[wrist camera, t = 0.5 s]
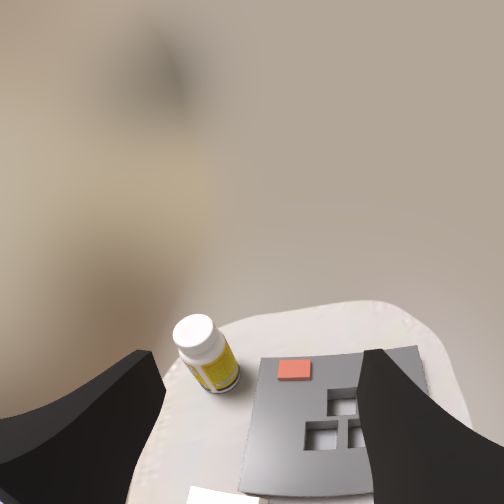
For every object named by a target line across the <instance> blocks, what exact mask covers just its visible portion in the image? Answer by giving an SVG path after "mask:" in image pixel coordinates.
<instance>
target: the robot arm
mask: <svg viewBox="0 0 504 504" xmlns="http://www.w3.org/2000/svg"><path fill="white" fill-rule="evenodd" d="M165 394H166V388H165V386H164V384H163V381H162V378H161V376H160V374H159V371H158V368H157V366H156V363H155V360H154V357H153V355H152V352H151V351H145V350H136V351H134V352H132V353H131V354H130V355H128V356H126V357H125V358H123V359H122V360H120V361H119V362H117V363H116V364H114V365H113V366H111V367H110V368H109V369H107V370H106V371H104V372H103V373H101V374H100V375H98V376H97V377H95V378H94V379H92V380H91V381H89V382H88V383H86V384H84V385H83V386H81V387H80V388H78V389H76V390H75V391H73V392H71V393H70V394H68V395H66V396H64V397H62V398H60V399H58V400H56V401H54V402H52V403H50V404H48V405H45V406H43V407H41V408H38V409H35V410H32V411H29V412H27V413H24V414H21V415H17V416H13V417H9V418H4V419H0V504H125V502H126V498H127V494H128V490H129V486H130V483H131V479H132V476H133V473H134V469H135V466H136V464H137V461H138V459H139V457H140V454H141V452H142V450H143V448H144V446H145V444H146V442H147V440H148V437H149V435H150V433H151V431H152V429H153V427H154V425H155V423H156V420H157V418H158V416H159V414H160V411H161V408H162V404H163V401H164V397H165ZM356 396H357V404H358V412H359V419H360V424H361V428H362V432H363V436H364V441H365V445H366V449H367V454H368V458H369V463H370V467H371V473H372V480H373V494H374V504H504V447H502V446H500V445H498V444H496V443H494V442H492V441H490V440H488V439H487V438H485V437H483V436H481V435H479V434H478V433H476V432H474V431H473V430H471V429H470V428H468V427H467V426H465V425H464V424H462V423H461V422H460V421H458V420H457V419H455V418H454V417H453V416H451V415H450V414H449V413H447V412H446V411H445V410H444V409H442V408H441V407H440V406H439V405H438V404H437V403H435V402H434V401H433V400H432V399H431V398H430V397H429V396H428V395H427V394H426V393H424V392H423V391H422V390H421V389H420V388H419V387H418V386H417V385H416V384H415V383H414V382H413V381H412V380H411V379H410V378H409V377H408V376H407V375H406V374H405V373H404V371H403V370H402V369H401V368H400V367H399V366H398V365H397V364H396V363H395V362H394V361H393V360H392V359H391V358H390V357H389V356H388V355H387V353H386V352H385V351H384V350H383V349H375V350H366V351H364V355H363V361H362V366H361V372H360V377H359V382H358V387H357V391H356Z"/></svg>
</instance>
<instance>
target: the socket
mask: <svg viewBox="0 0 504 504" xmlns="http://www.w3.org/2000/svg"><path fill="white" fill-rule="evenodd" d="M384 351H385V352H386V353H387V355H388V356H389V357H390V358H391V359H392V360H393V361H394V362H395V363H396V364H397V365H398V366H399V367H400V368H401V369H402V370H403V371H404V373H405V374H406V375H407V376H408V377H409V378H410V379H411V380H412V381H413V382H414V383H415V384H416V385H417V386H418V387H419V388H420V389H421V390H422V391H423V392H424V393H426V394H427V395H428V391H427V386H426V381H425V376H424V372H423V367H422V363H421V359H420V355H419V351H418V347H417V345H415V346H408V347H402V348H395V349H388V350H384ZM363 355H364V352H362V353H352V354H341V355H328V356H311V357H284V358H261V362H260V368H259V375H258V381H257V387H256V393H255V399H254V404H253V410H252V416H251V422H250V427H249V433H248V438H247V444H246V449H245V455H244V460H243V465H242V470H241V475H240V481H239V486H238V491H239V492H242V493H246V494H255V495H266V496H280V497H334V496H348V495H358V494H367V493H373V480H372V473H371V467H370V463H369V458H368V454H367V449H366V447H360V448H349V449H348V427H359V426H361V424H360V419H359V412H358V404H357V396H356V391H357V387H358V382H359V377H360V372H361V366H362V361H363ZM346 398H355V400H356V414H355V415H344V416H329V417H327V400H333V399H346ZM335 428H337V449H336V450H311V451H305V449H306V437H307V430H313V429H335Z"/></svg>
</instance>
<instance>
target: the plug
mask: <svg viewBox="0 0 504 504" xmlns="http://www.w3.org/2000/svg"><path fill="white" fill-rule="evenodd" d="M187 504H269V500H267V499H263V498H260V497H251V496H243V495H236V494H229V493H223V492H218V491H213V490H208V489H203V488H198V487H194V486H191V488H190V492H189V496H188V500H187Z"/></svg>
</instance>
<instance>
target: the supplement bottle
mask: <svg viewBox="0 0 504 504" xmlns="http://www.w3.org/2000/svg"><path fill="white" fill-rule="evenodd" d="M173 339H174V342H175V343H176V345H177V347H178V348H179V354H180V357H181V359H182V360H183V362H184V363H185V364H186V366H187V367H188V368H189V370H190V371H191V372H192V374H193V375H194V377H195V378H196V379H197V380H198V382H199V383H200V384H201V386H202V387H203V388H204V389H205V390H207V391H209V392H212V393H222V392H226V391H228V390H230V389H232V388H233V387H234V386H235V385H236V384H237V382H238V381H239V378H240V368H239V365H238V363H237V361H236V359H235V357H234V355H233V353H232V351H231V349H230V347H229V345H228V343H227V341H226V339H225V337H224V335H223V334H222V332H221V331H220V330H218V329H217V328H216V326H215V325H214V323H213V322H212V320H211V319H210V318H209V317H208V316H206V315H203V314H194V315H190V316H188V317H186V318H184V319H182V320H181V321H180V322H179V323H178V324H177V325H176V327H175V329H174V332H173Z"/></svg>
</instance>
